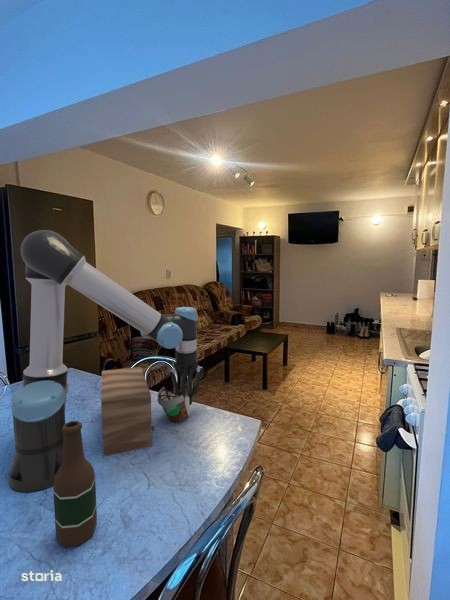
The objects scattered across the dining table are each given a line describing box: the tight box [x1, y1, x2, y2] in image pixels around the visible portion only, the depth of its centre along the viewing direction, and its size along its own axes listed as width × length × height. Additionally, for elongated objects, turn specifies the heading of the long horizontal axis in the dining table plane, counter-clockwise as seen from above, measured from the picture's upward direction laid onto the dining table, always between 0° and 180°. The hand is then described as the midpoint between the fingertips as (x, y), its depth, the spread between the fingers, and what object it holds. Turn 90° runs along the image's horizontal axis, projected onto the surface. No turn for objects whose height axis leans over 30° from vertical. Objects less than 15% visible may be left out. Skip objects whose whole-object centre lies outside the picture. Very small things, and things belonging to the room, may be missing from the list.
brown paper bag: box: [100, 366, 153, 457], centre depth 106 cm, size 28×14×16 cm, turn 21°
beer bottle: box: [52, 420, 98, 548], centre depth 64 cm, size 8×8×24 cm
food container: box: [157, 386, 189, 424], centre depth 111 cm, size 12×6×10 cm, turn 45°
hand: (186, 413), depth 114 cm, fingers closed
